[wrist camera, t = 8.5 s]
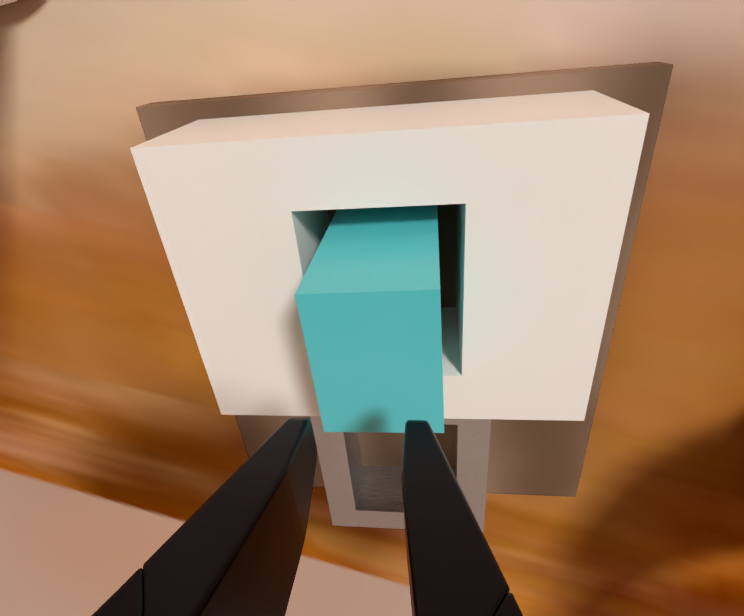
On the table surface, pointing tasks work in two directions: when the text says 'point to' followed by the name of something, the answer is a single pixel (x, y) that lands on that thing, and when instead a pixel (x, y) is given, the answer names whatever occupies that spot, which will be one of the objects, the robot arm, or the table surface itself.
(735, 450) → the table surface
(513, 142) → the port box
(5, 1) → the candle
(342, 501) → the holster
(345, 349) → the plug
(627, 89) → the board
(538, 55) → the table surface
